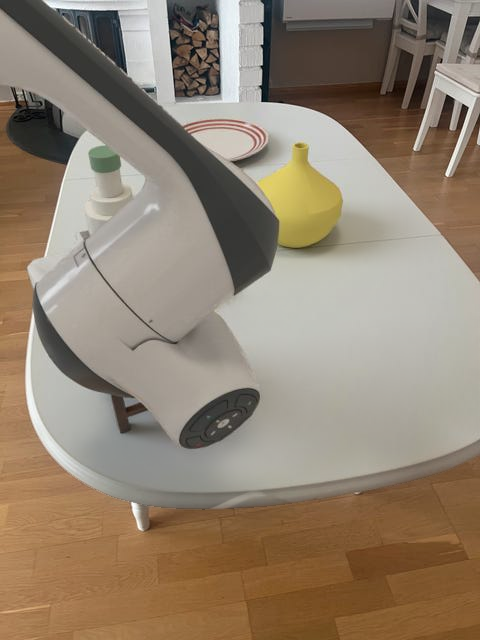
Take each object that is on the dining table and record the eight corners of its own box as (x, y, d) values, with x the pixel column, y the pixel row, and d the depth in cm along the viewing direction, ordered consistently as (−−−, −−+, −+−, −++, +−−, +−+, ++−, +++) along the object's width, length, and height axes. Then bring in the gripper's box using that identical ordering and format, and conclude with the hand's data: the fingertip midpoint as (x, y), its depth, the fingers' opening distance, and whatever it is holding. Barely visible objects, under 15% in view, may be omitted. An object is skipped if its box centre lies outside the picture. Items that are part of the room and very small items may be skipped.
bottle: (109, 314, 60) (80, 169, 48) (97, 286, 64) (66, 145, 53) (159, 301, 62) (142, 157, 50) (143, 274, 66) (124, 135, 55)
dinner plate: (194, 180, 126) (193, 167, 124) (150, 140, 144) (148, 128, 141) (288, 156, 136) (288, 144, 134) (236, 122, 154) (236, 110, 152)
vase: (264, 206, 117) (267, 121, 104) (345, 221, 112) (359, 133, 100) (236, 249, 104) (236, 158, 91) (326, 268, 99) (340, 174, 87)
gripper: (253, 246, 50) (199, 186, 60) (36, 303, 44) (13, 224, 53) (251, 297, 55) (201, 233, 64) (53, 356, 48) (29, 274, 57)
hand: (114, 229), depth 58 cm, fingers closed on bottle, 6 cm apart
